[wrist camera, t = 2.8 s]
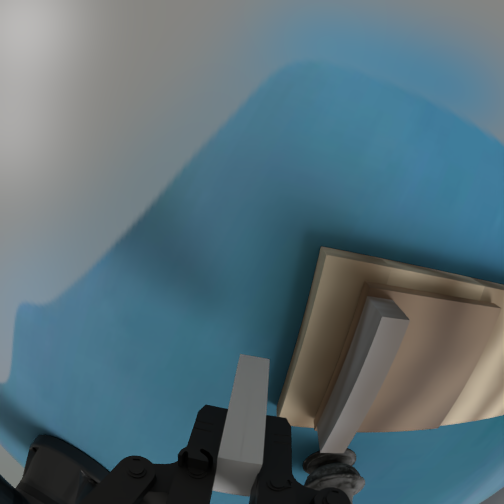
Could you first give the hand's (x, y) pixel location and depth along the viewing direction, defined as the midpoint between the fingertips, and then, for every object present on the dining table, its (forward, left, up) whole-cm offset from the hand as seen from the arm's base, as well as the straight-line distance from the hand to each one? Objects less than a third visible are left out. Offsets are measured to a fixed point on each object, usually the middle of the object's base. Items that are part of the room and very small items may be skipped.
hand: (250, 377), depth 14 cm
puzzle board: (+17, 0, -5) cm, 18 cm away
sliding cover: (+11, 0, -3) cm, 11 cm away
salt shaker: (+10, -14, -5) cm, 18 cm away
